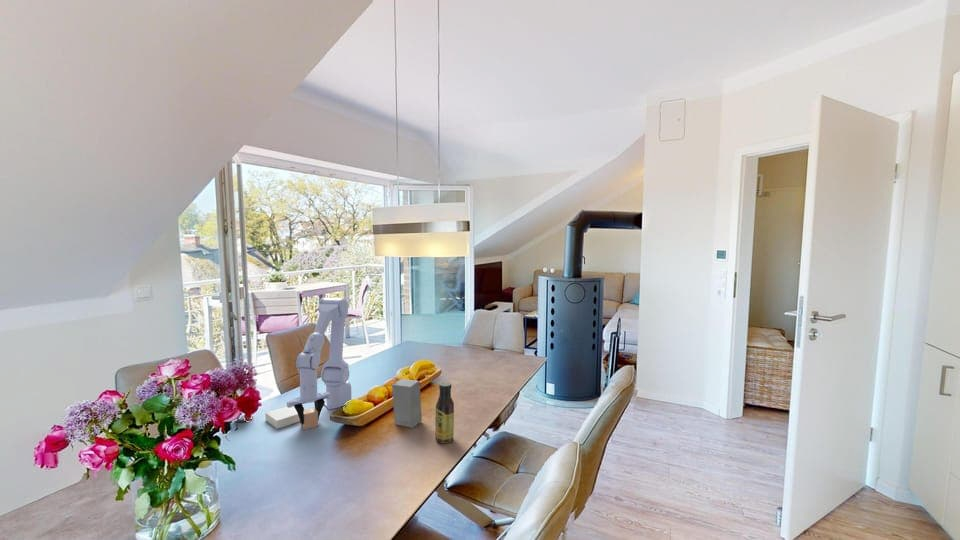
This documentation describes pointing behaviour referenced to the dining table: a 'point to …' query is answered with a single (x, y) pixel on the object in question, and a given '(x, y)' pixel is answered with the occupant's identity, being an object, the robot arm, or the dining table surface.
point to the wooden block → (310, 418)
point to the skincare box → (407, 403)
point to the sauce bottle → (444, 414)
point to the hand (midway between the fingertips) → (309, 421)
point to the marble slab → (282, 417)
